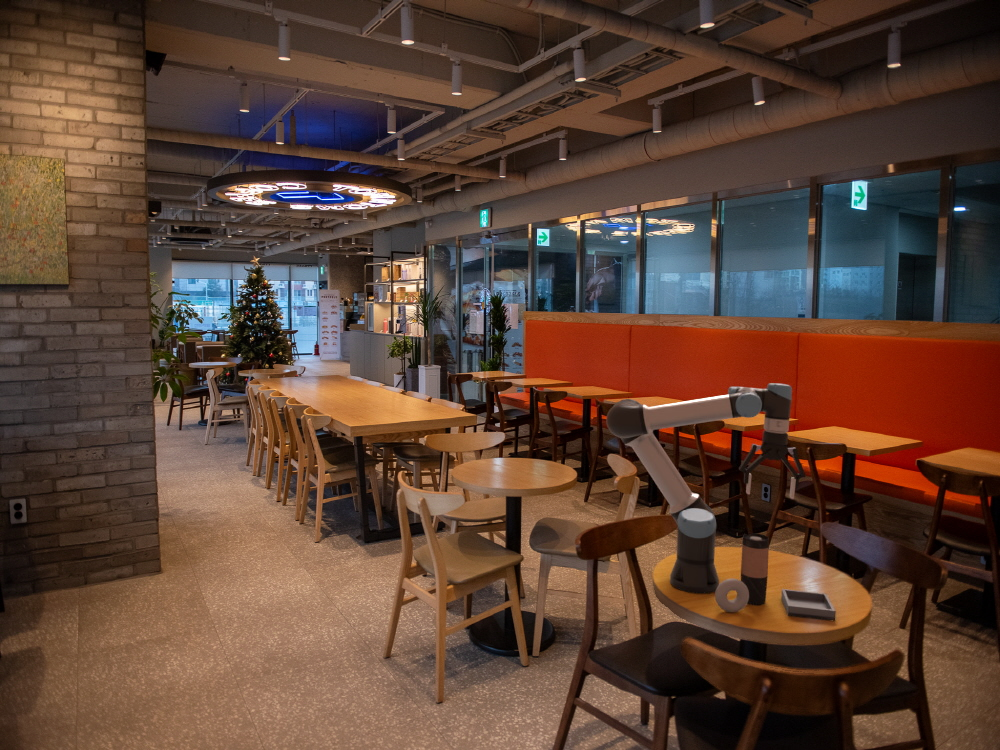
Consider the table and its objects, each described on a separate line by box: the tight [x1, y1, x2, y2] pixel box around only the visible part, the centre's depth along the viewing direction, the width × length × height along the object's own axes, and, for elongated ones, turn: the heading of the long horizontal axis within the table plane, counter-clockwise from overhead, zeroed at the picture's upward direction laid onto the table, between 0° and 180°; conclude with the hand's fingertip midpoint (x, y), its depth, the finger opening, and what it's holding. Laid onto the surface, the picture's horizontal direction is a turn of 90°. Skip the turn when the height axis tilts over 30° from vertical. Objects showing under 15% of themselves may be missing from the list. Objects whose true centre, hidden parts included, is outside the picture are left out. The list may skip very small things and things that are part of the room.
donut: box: [714, 577, 749, 613], centre depth 201 cm, size 10×4×10 cm, turn 93°
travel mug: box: [740, 532, 770, 607], centre depth 208 cm, size 8×8×20 cm
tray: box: [780, 588, 837, 622], centre depth 203 cm, size 13×13×3 cm
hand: (769, 495), depth 224 cm, fingers open, 13 cm apart
